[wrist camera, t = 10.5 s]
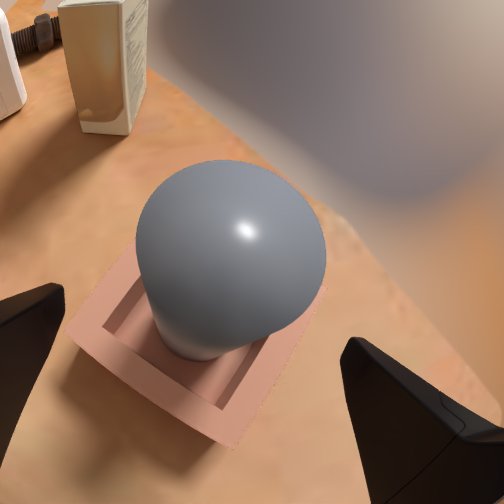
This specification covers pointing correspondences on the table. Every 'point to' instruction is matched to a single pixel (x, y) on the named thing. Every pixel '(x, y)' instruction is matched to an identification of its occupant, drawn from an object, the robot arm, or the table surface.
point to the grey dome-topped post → (227, 257)
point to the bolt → (37, 35)
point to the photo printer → (9, 74)
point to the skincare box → (105, 61)
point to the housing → (174, 368)
